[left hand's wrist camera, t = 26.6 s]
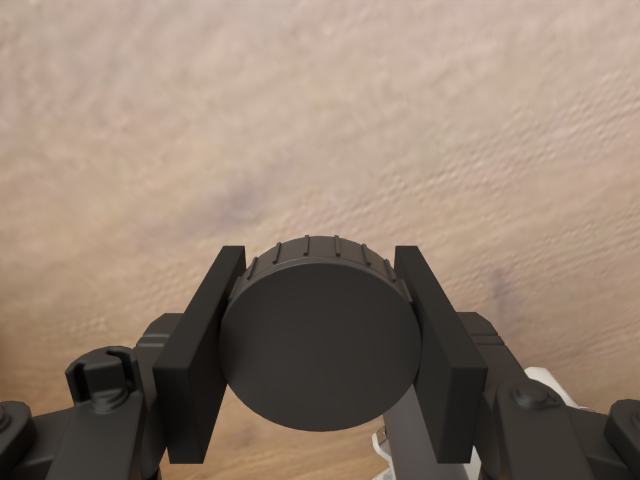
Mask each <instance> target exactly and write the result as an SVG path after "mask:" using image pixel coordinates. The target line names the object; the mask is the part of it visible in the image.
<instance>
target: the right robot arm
mask: <svg viewBox="0 0 640 480" xmlns="http://www.w3.org/2000/svg"><path fill="white" fill-rule="evenodd" d="M524 371H525V373H526V374H527V376H528V377H529V378H531V379H534V380H538V381H540V382H542V383H544V384H546V385H548V386H550V387H551V388H552V389H553V390H554V391H556V392H557V393H558V394H559V395H560V396H561V397H562V399H563V400H564V402H565V403H566V405H567V406H571V407H574V408H578V409H582V410H586V411H591V412H595V411H593V410H591V409H590V408H587V407H579V406H578V405H577V404H576V403H575V401H574V400H573V399H572V397H571V396H570V395H569V394H568V393H567V391H566V390H565V389H564V388H563V387H562V385H561V384H560V383H559V382H558V381H557V380H556V378H555V377H554V376H553V375H552V374H551V373H550V372H549V371H548V370H547V369H546V368H541V367H528V368H526V369H525V370H524ZM595 413H596V412H595ZM372 441H373V447H374V449H375V451H376V452H377V454H379V455H380V456H381V457H383V458H384V459H386V460H387V461H388V464H389V468H387V469H386V470H384V471H383V472H382V473H380V474H379V475H378V476H376V477H375V478H373V479H372V480H396V477H395V472H394V467H393V462H392V457H391V452H390V448H389V443H388V438H387V433H386V428H385V426H384V427H383V428H381V429H380V430H379V431H377V432H376V433H375V434H373V435H372ZM463 465H464V467H465V470H466V472H467V475H468V478H469V480H478V476H479V471H480V466H481V461H480V459H479V456H478V454H477V452H476V449H475V447H474V446H473V452H472V457H471V462H470V464H463Z"/></svg>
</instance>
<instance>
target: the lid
mask: <svg viewBox="0 0 640 480" xmlns="http://www.w3.org/2000/svg"><path fill="white" fill-rule="evenodd" d="M228 301H229V303H228V306H227V308H226V311H225V313H224V315H223V318H222V320H221V327H220V331H219V335H218V350H219V359H220V366H221V370H222V372H223V375H224V377H225V379H226V381H227V383H228V385H229V386H230V388H231V389H232V391H233V392H234V393H235V395H236V396H237V397H238V398H239V399H240V400H241V401H242V402H243V403H244V404H245V405H246V406H247V407H249V408H250V409H251V410H252V411H254V412H255V413H257V414H258V415H260V416H262V417H263V418H265V419H267V420H269V421H272V422H274V423H276V424H279V425H282V426H285V427H288V428H293V429H297V430H304V431H315V432H326V431H337V430H343V429H348V428H352V427H355V426H359V425H361V424H364V423H366V422H369V421H371V420H373V419H375V418H377V417H379V416H380V415H382V414H383V413H385V412H386V411H388V410H389V409H390V408H392V407H393V406H394V405H395V404H396V403H397V402H398V401H399V400H400V399H401V398H402V397H403V396H404V395H405V394H406V392H407V391H408V389H409V388H410V386H411V385H412V383H413V381H414V379H415V377H416V375H417V373H418V370H419V367H420V361H421V353H422V336H421V330H420V327H419V323H418V320H417V318H416V315H415V313H414V310H413V308H412V305H411V304H413V301H412V298H411V296H410V293H409V291H408V289H407V286H406V284H405V282H404V280H403V279H402V280H400V278H399V277H398V275H397V274H396V272H395V271H394V269H393V268H392V267H391V265H390V262H389V260H388V259H385V260H384V259H383V258H382V257H380V256H379V255H378V254H377V253H375V252H373V251H372V250H370V249H368V248H367V246H366V244H362V245H360V244H358V243H356V242H353V241H349V240H346V239H342V238H339V236H337V235H335V237H329V236H312V237H309V235H305V237H303V238H298V239H294V240H291V241H288V242H285V243H282V244H281V243H280V242H279V243H277V245H276V246H275V247H273V248H271V249H270V250H268V251H267V252H265V253H264V254H262V255H261V256H260V257H258V258H257V257H255V258H254V259H253V261H252V264H251V265H250V266H249V267H248V268H247V270H246V271H245V272H244V274H243V275H242V277H239V276H238V278H237V280H236V283H235V285H234V287H233V290H232V292H231V294H230V297H229V299H228Z"/></svg>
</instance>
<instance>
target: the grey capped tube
mask: <svg viewBox="0 0 640 480" xmlns="http://www.w3.org/2000/svg"><path fill="white" fill-rule="evenodd" d="M383 418H384V423H385V428H386V433H387V438H388V443H389V448H390V452H391V457H392V462H393V467H394V472H395V477H396V480H469V478H468V475H467V472H466V470H465V467H464V465H463V464H437V461H436V458H435V454H434V451H433V448H432V445H431V441H430V438H429V435H428V432H427V428H426V425H425V422H424V419H423V415H422V412H421V409H420V406H419V402H418V399H417V396H416V392H415V389H414V386H413V383H412V385H411V386H410V388H409V389H408V391H407V392H406V394H405V395H404V396H403V397H402V398H401V399H400V400H399V401H398V402H397V403H396V404H395V405H394V406H393V407H392V408H390V409H389V410H388V411H386V412H385V413H383Z"/></svg>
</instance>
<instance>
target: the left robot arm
mask: <svg viewBox="0 0 640 480" xmlns="http://www.w3.org/2000/svg"><path fill="white" fill-rule="evenodd" d="M245 271H246V258H245V246H223V247H222V249H221V251H220V253H219V254H218V256H217V258H216V259H215V261H214V263H213V264H212V266H211V268H210V270H209V271H208V273H207V275H206V276H205V278H204V280H203V281H202V283H201V285H200V287H199V288H198V290H197V292H196V293H195V295H194V297H193V298H192V300H191V302H190V304H189V305H188V307H187V309H186V310H185V312H184V313H165V314H163V315H162V316H160V317H159V318H158V319H156V320H155V321H153V322H152V323H151V324H150V325H149V327H148V328H147V329H146V331H145V332H144V334H143V337H141V338H140V339H139V341H138V342H137V344H136V347H134V348H133V349H131V348H128V347H124V346H108V347H104V348H100V349H96V350H93V351H91V352H89V353H86V354H84V355H82V356H81V357H79V358H78V359H76V360H75V361H74V362H72V363H71V364H70V366H69V367H68V368H67V369H66V371H65V375H66V378H67V382H68V385H69V388H70V392H71V395H72V399H73V402H74V406H73V407H72V408H68V409H65V410H61V411H57V412H52V413H48V414H44V415H39V416H35V417H32V414H31V411H30V408H29V407H28V406H27V405H26V404H25V403H23V402H18V401H7V402H0V480H162V478H161V471H160V466H159V464H160V461H161V459H162V457H163V454H164V452H165V449H166V447H167V450H168V456H169V461H170V464H203V462H204V459H205V455H206V452H207V449H208V445H209V442H210V439H211V436H212V432H213V429H214V426H215V423H216V419H217V416H218V413H219V410H220V406H221V403H222V400H223V396H224V393H225V390H226V387H227V381H226V379H225V377H224V375H223V372H222V370H221V366H220V359H219V350H218V335H219V331H220V327H221V320H222V318H223V315H224V313H225V311H226V308H227V306H228V303H229V301H228V299H229V297H230V294H231V292H232V290H233V287H234V285H235V283H236V280H237V278H238V276H239V277H242V275H243V274H244V272H245ZM394 271H395V272H396V274H397V275H398V277H399V278H400V280H402V279H403V280H404V282H405V284H406V286H407V289H408V291H409V293H410V296H411V298H412V301H413V304H411V305H412V308H413V310H414V313H415V315H416V318H417V320H418V323H419V327H420V330H421V336H422V353H421V361H420V367H419V370H418V373H417V375H416V377H415V379H414V381H413V386H414V389H415V392H416V396H417V399H418V402H419V406H420V409H421V412H422V415H423V419H424V422H425V425H426V428H427V432H428V435H429V438H430V441H431V445H432V448H433V451H434V454H435V458H436V461H437V464H470V462H471V457H472V452H473V446H474V447H475V449H476V452H477V454H478V456H479V459H480V461H481V466H480V471H479V476H478V480H640V401H638V400H631V399H626V400H619V401H617V402H615V403H614V404H613V405H612V406H611V409H610V412H609V415H604V414H600V413H595V412H591V411H586V410H582V409H578V408H574V407H571V406H567V405H566V403H565V402H564V400H563V399H562V397H561V396H560V395H559V394H558V393H557V392H556V391H554V390H553V389H552V388H551V387H550V386H548V385H546V384H544V383H542V382H540V381H538V380H534V379H531V378H529V377H528V376H527V374H526V373H525V371H524V370H523V369H522V367H521V366H520V364H519V363H518V361H517V360H516V359H515V357H514V356H513V354H512V353H511V352H510V350H509V349H508V347H507V346H505V343H504V342H503V340H502V339H501V337H500V336H498V333H497V332H496V330H495V329H494V327H493V326H492V325H491V323H490V322H489V321H488V320H486V319H485V318H483V317H482V316H480V315H479V314H478V313H476V312H455V310H454V308H453V306H452V305H451V303H450V301H449V300H448V298H447V296H446V295H445V293H444V291H443V289H442V288H441V286H440V284H439V283H438V281H437V279H436V278H435V276H434V274H433V272H432V271H431V269H430V267H429V266H428V264H427V262H426V261H425V259H424V257H423V255H422V254H421V252H420V250H419V249H418V247H417V246H396V248H395V261H394Z"/></svg>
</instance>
